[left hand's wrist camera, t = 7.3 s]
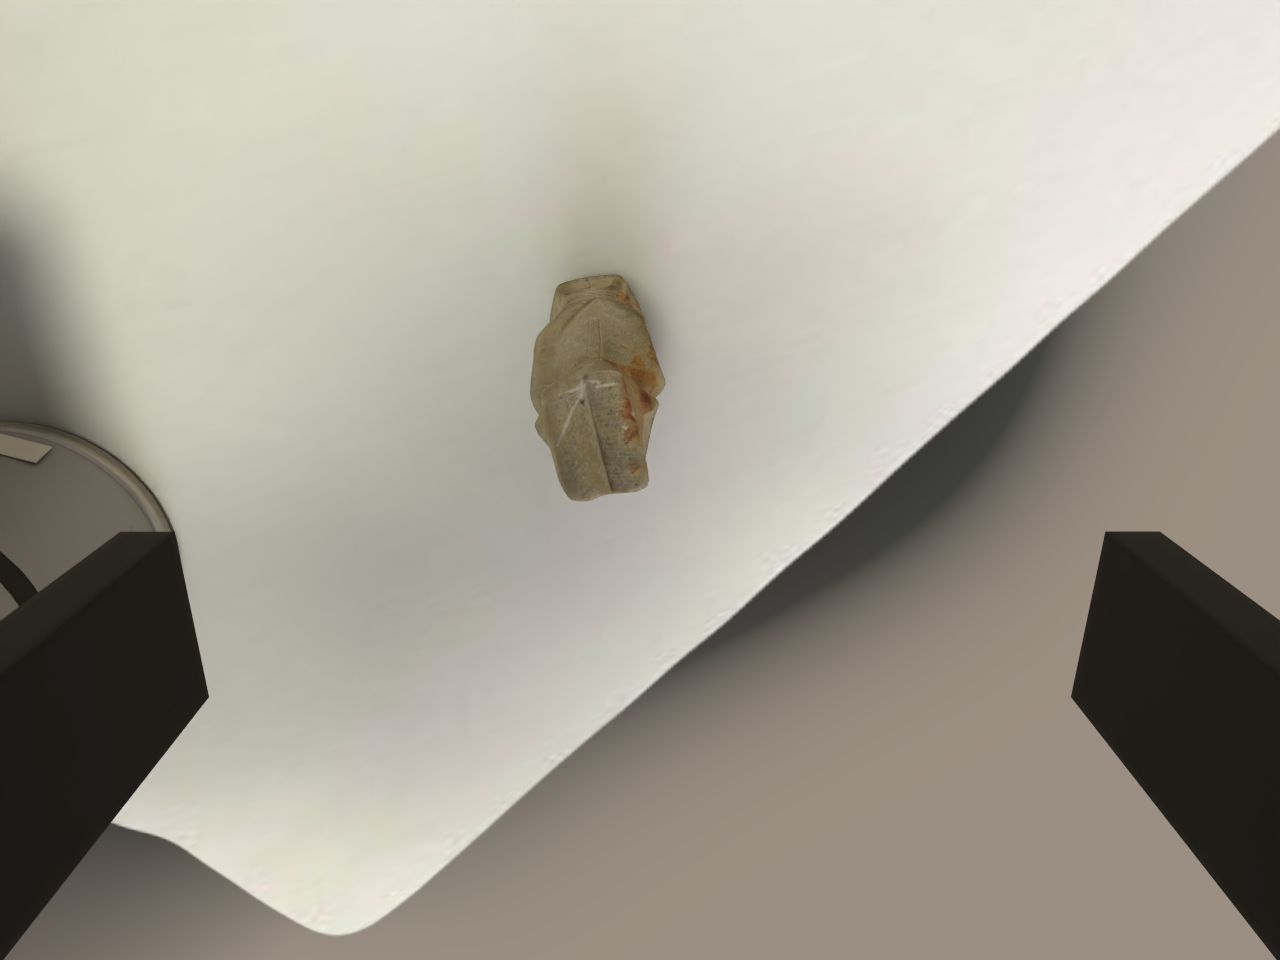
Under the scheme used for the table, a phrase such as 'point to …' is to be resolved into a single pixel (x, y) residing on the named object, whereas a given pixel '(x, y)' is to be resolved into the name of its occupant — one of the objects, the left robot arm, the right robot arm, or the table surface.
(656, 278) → the table surface
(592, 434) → the sculpture
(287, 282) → the table surface
